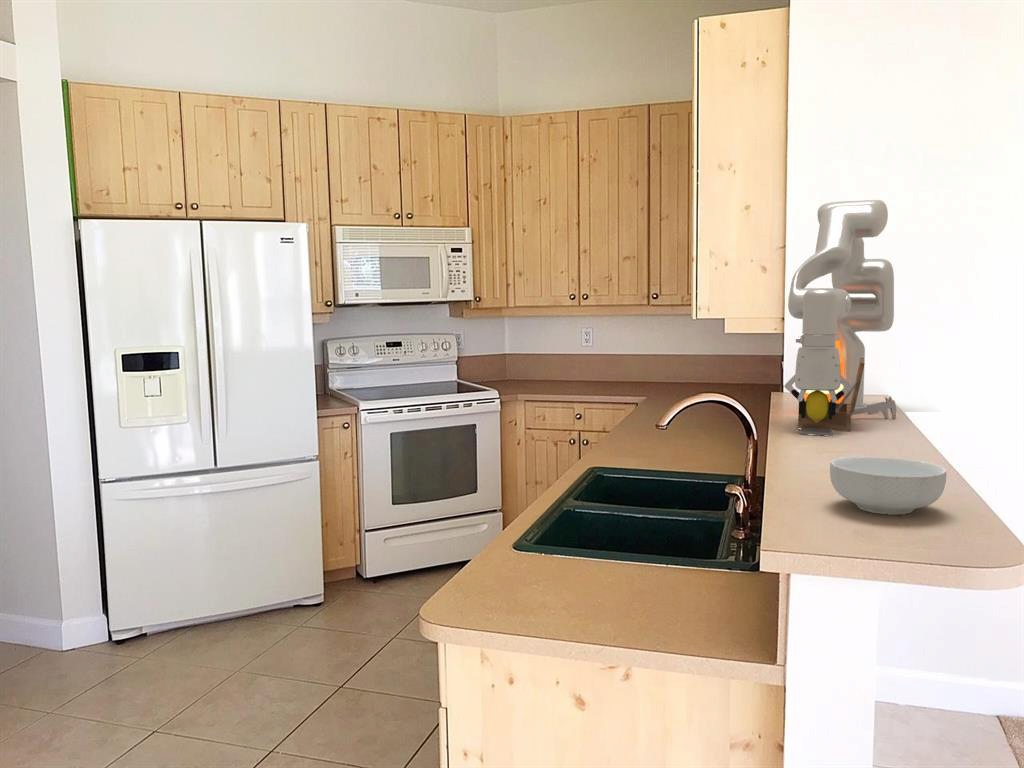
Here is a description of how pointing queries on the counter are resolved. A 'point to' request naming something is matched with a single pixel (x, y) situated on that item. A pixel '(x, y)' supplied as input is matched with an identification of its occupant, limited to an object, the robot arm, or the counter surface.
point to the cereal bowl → (887, 483)
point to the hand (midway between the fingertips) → (816, 417)
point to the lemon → (817, 405)
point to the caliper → (878, 408)
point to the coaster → (816, 431)
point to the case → (837, 410)
